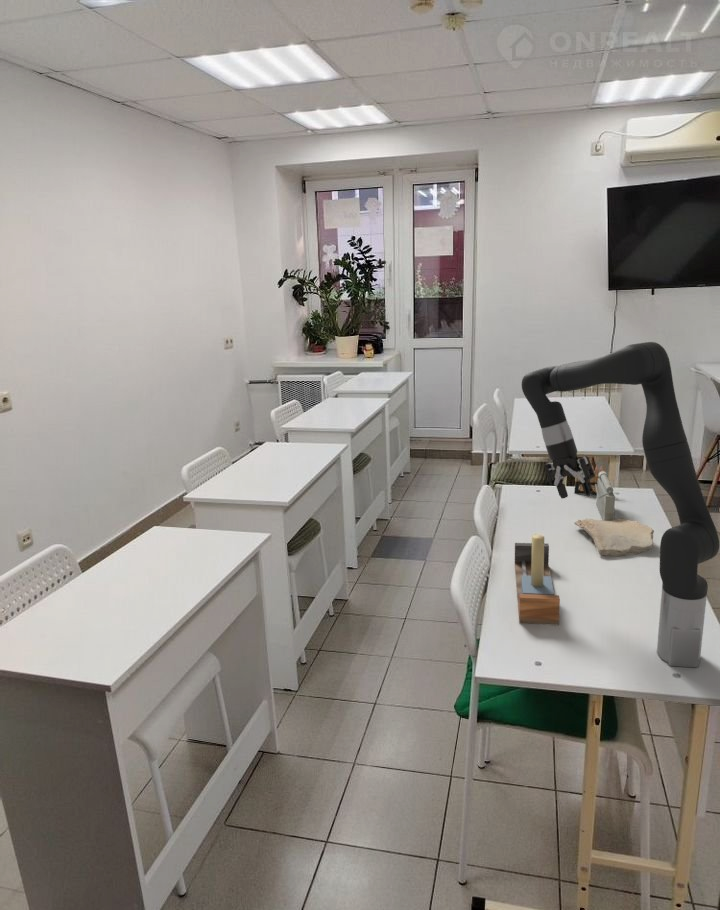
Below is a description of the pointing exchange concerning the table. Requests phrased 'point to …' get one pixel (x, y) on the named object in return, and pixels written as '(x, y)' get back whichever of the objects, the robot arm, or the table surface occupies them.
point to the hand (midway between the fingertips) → (576, 496)
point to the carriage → (537, 571)
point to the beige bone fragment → (618, 536)
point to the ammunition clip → (592, 481)
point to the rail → (533, 605)
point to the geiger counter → (605, 497)
